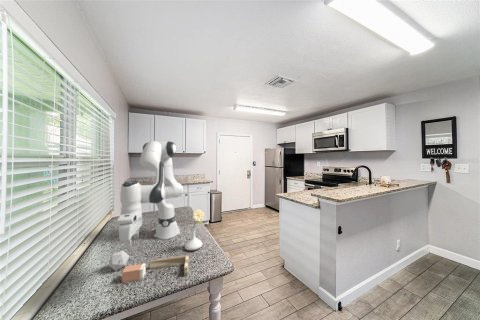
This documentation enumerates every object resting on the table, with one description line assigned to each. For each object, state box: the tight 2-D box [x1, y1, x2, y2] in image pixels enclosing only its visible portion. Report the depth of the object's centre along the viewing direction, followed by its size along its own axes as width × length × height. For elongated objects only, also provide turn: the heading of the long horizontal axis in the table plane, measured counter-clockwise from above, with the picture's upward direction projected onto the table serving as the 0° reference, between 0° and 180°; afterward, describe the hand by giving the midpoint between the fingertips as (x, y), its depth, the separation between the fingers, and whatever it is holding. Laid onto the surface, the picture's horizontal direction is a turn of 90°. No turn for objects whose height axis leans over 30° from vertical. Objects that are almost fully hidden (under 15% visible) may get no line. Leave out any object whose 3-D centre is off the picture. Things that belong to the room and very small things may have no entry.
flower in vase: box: [184, 209, 205, 251], centre depth 117 cm, size 13×11×25 cm
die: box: [108, 250, 130, 272], centre depth 98 cm, size 8×9×10 cm
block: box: [121, 263, 147, 283], centre depth 89 cm, size 5×9×5 cm, turn 103°
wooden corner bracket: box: [149, 254, 190, 277], centre depth 93 cm, size 12×20×4 cm, turn 103°
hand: (132, 241), depth 89 cm, fingers open, 8 cm apart
